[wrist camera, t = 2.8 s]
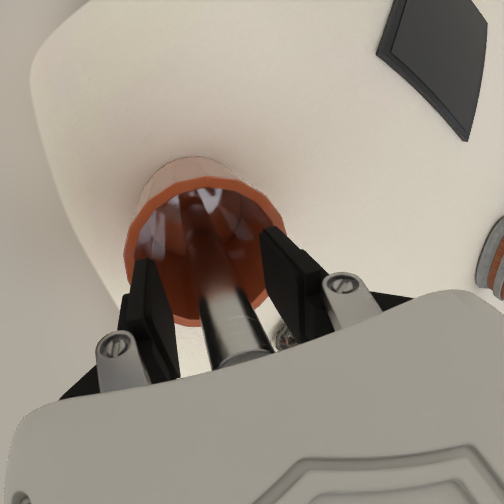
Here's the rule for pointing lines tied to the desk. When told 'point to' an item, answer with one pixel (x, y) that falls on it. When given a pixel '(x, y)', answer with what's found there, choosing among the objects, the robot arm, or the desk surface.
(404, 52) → the tablet
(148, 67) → the desk surface
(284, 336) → the corroded twin loop
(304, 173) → the desk surface
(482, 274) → the mug
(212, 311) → the stylus
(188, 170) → the holder
